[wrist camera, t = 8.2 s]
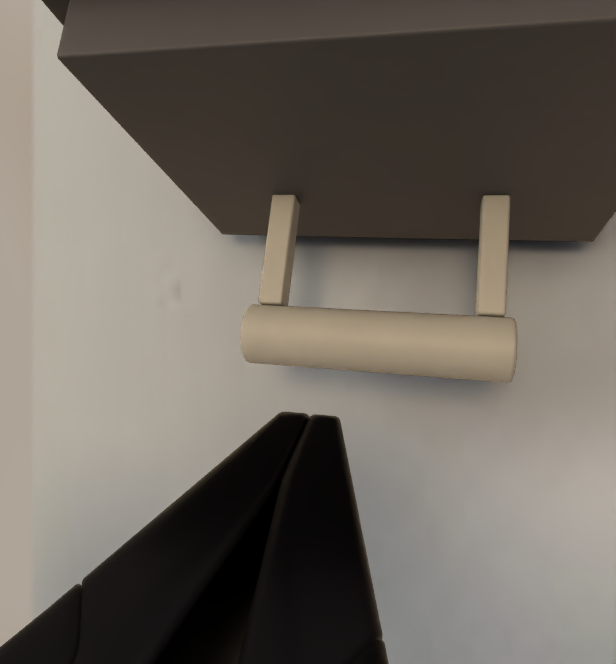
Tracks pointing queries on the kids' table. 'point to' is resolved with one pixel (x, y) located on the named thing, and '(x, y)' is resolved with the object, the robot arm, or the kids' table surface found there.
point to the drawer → (369, 144)
